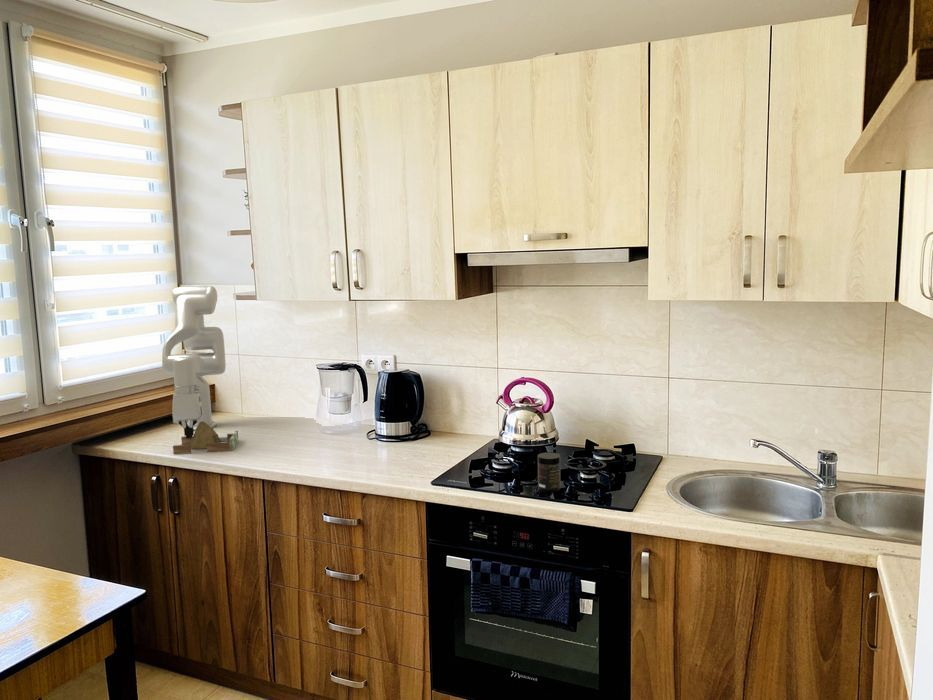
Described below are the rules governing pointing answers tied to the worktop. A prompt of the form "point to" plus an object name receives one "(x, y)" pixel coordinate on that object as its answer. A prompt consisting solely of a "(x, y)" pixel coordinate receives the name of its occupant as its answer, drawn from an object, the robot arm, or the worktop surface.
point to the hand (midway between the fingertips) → (189, 437)
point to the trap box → (208, 444)
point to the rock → (204, 436)
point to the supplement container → (549, 472)
